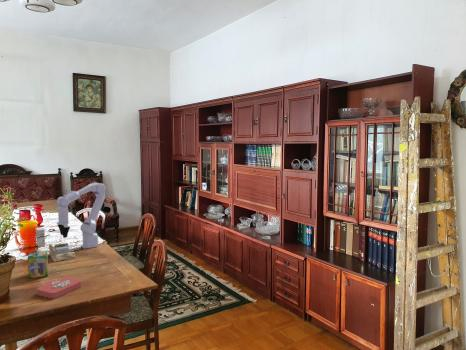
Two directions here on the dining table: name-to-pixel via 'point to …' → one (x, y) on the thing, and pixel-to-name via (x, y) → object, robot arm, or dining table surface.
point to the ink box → (40, 237)
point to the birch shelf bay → (60, 256)
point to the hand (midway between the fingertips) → (63, 236)
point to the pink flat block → (58, 287)
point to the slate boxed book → (62, 250)
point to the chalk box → (37, 264)
